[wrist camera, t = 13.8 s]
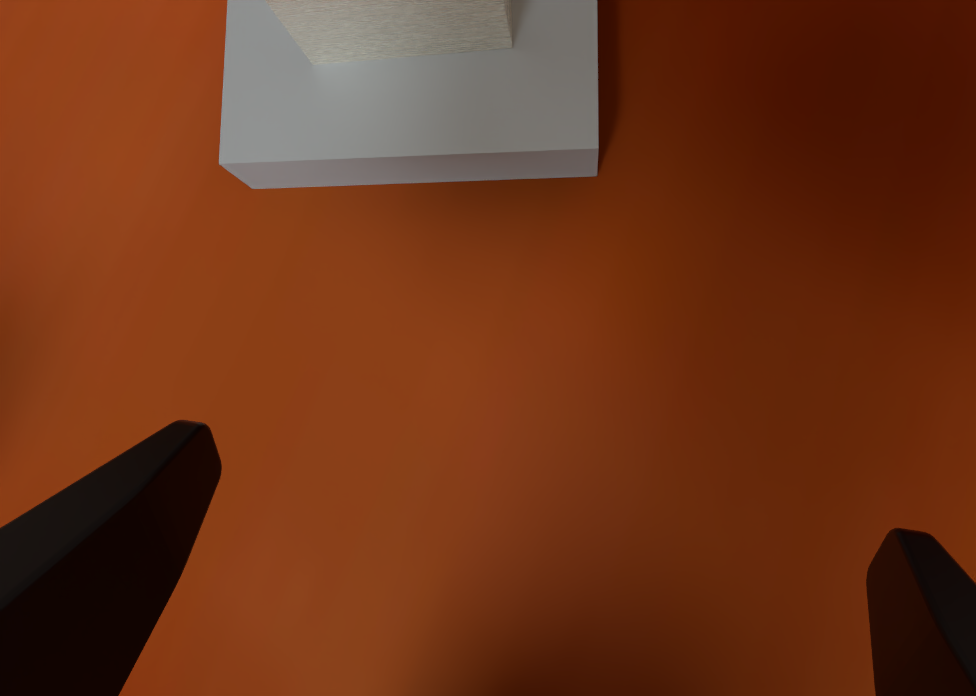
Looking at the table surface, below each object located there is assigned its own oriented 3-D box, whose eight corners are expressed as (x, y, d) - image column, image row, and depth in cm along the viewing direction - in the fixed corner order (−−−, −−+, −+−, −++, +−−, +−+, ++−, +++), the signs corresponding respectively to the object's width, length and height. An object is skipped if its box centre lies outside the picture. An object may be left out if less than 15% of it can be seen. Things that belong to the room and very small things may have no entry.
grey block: (596, 182, 25) (598, 148, 22) (259, 194, 26) (218, 164, 23) (594, -142, 26) (595, -216, 23) (274, -113, 27) (237, -178, 25)
